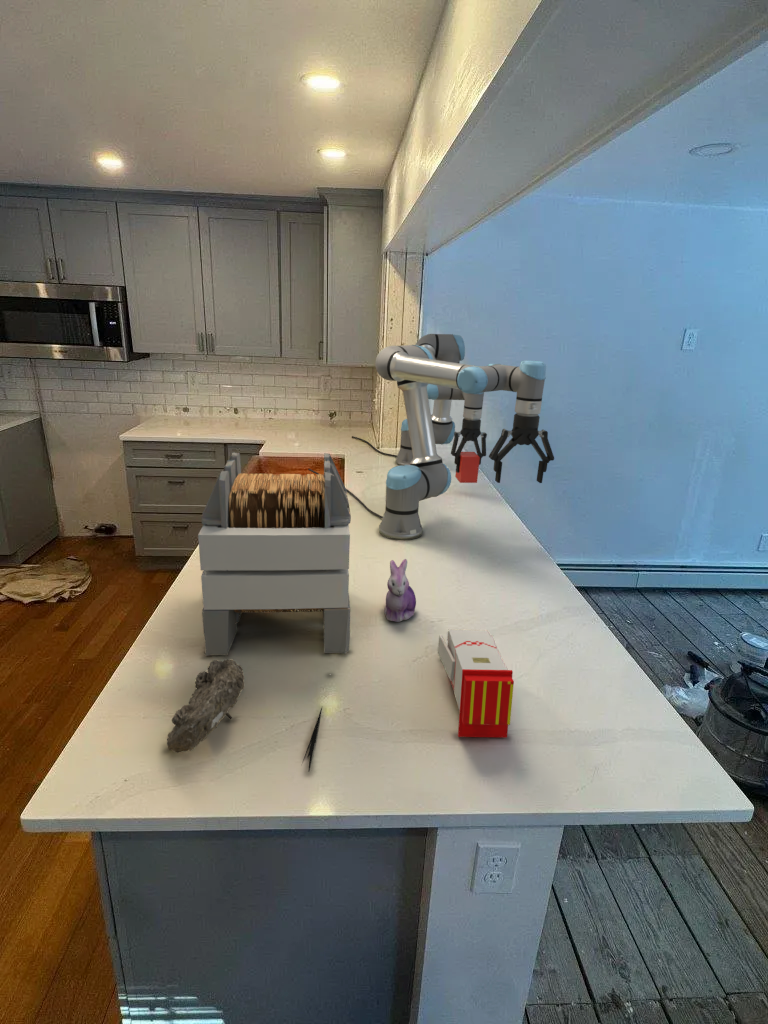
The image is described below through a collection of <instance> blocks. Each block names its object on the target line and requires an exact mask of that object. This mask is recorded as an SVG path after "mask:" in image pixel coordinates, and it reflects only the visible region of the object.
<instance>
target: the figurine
mask: <svg viewBox="0 0 768 1024" xmlns="http://www.w3.org/2000/svg"><path fill="white" fill-rule="evenodd" d="M407 567H408V559H406V558H404V559H403V560H402V561H401V563H400V565H399V566H398V565H397V563H396V562H395V561H394V560H393V559H391V560H390V561H389V570H390V576H389V578H388V579H387V589H388V591H387V592H386V594H385V595H386V596H385V607H384V615H385V616H386V620H387V621H391V622H395V623H400V622H402V621H406V620H409V619H410V618H411V617H413V616H414V615H415V610H416V606H417V597H416V593H415V591H414V590H413V587H411V586H410V582H409V579H408V577H407V574H406V571H407Z"/></svg>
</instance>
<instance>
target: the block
mask: <svg viewBox="0 0 768 1024" xmlns="http://www.w3.org/2000/svg"><path fill="white" fill-rule="evenodd" d="M459 457H460V468H459V473H457V472H456V471H455V475H454V477H455V478H456V480H457V481H458V482H459V483H460V484H477V483H478V478H479V469H480V465H479V460H480V457H479V456H478V455H477V452H476V451H461V453H460V455H459Z"/></svg>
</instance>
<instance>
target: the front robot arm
mask: <svg viewBox="0 0 768 1024" xmlns="http://www.w3.org/2000/svg"><path fill="white" fill-rule="evenodd" d="M375 369H376V373H378V375H379V376H380V377H381V378H382V379H383V380H386V381H390V382H391V381H392V382H396V385H397V388H398V389H399V390H401V391H402V396H403V403H404V408H405V414H406V419H407V421H408V427H409V434H410V440H411V446H412V452H413V460H412V461H411V463H410V465H404V466H403V465H396V466H393V467H391V468H390V469H389V470H388V472H387V474H386V479H385V504H384V505H385V507H384V508H385V509H384V513H383V515H380V514H379V513H376V512H375V511H373V510H371V509H370V508H368V507H367V505H365V503H364V502H363V501H361V499H360V498H358V497H357V496H356V495H355V494H354V493H353V492H352V491H350V490H349V489H347V488H346V490H347V494H349V495H351V496H352V497H353V498H354V499H355V500H356V501H357V502H359V503H360V504H361V506H363V508H364V509H365V510H367V511H368V512H369V513H370V514H372V515H373V516H376V517H377V518H379V519H381V522H379V525H378V533H379V534H380V535H381V536H382V537H385V538H387V539H389V540H395V541H410V540H415V539H418V538H420V537H421V536H422V535H423V525H422V524H421V518H420V515H419V507H420V506H419V505H420V502H421V501H423V500H427V499H430V498H436V497H439V496H440V495H443V494H445V493H446V492H447V491H448V490H449V488H450V486H451V483H452V473H451V470H450V468H449V467H448V466H447V464H445V463H443V457H441V456H440V455H439V454H438V452H437V446H436V445H437V444H435V438H434V432H433V425H432V419H431V415H432V414H431V406H430V401H429V400H430V399H428V393H427V385H428V384H433V385H438V386H444V387H449V388H455V389H460V390H462V391H463V392H464V393H468V394H477V393H482V392H484V393H489V392H497V391H499V392H500V391H503V392H504V391H506V392H513V393H516V398H515V406H514V412H515V414H514V415H513V422H512V428H511V430H509V429H506V428H503V429H502V430H501V432H500V433H501V434H500V436H499V438H498V440H496V441H497V442H496V443H495V445H494V447H493V448H492V450H491V451H490V453H489V455H488V458H490V460H491V461H493V471H494V472H495V477H494V481H495V482H496V483H497V484H500V483H501V478H502V470H503V461H502V460H503V459H504V458H505V456H507V454H508V453H509V452H511V450H513V448H514V447H516V446H517V445H518V446H523V445H525V446H530V445H531V446H532V447H533V449H534V451H535V452H536V453H537V455H538V456H539V458H540V459H541V460H539V461H538V467H537V473H536V479H535V480H536V482H537V483H539V484H543V480H544V479H543V478H544V473H547V469H548V464H549V463H550V462H551V461H552V462H553V461H554V460H555V456H554V453H553V450H552V447H551V444H550V440H549V432H548V431H547V430H546V429H541V430H539V426H540V418H541V417H540V415H541V412H542V411H541V409H542V403H543V395H544V394H543V393H544V387H545V380H546V377H547V376H546V371H547V364H546V363H545V362H544V361H539V360H522V361H521V362H520V364H519V366H517V365H516V366H515V365H507V364H501V363H489V364H487V365H473V364H466V363H453V362H446V361H440V360H433V357H432V355H431V353H430V352H429V351H428V350H427V349H426V348H425V347H422V346H416V345H415V344H410V345H409V344H408V345H389V346H386V347H384V348H383V349H381V350H380V351H379V352H378V353H377V356H376V358H375ZM510 436H511V437H512V438H511V439H510V440H509V441H508V443H506V441H507V439H508V438H509V437H510ZM538 437H540V439H541V442H542V446H543V449H544V451H545V453H544V451H543V449H542V448H541V447H540V445H539V443H538V442H537V440H536V439H537V438H538ZM505 443H506V444H505ZM504 445H505V446H504ZM307 470H308V471H309V472H310V473H311V472H312V474H315V475H316V474H317V475H318V474H319V475H320V474H321V473H319V472H317V471H315V470H313V469H311V468H308V469H307Z"/></svg>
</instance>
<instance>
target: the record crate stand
mask: <svg viewBox="0 0 768 1024" xmlns="http://www.w3.org/2000/svg"><path fill="white" fill-rule="evenodd" d="M241 463H242V462H241V453H240V452H235V451H233V452H231V455H230V457H229V459H227V460H226V463H225V466H224V468H223V470H222V471H220V474H219V475H218V477H217V479H216V482H215V483H214V486H213V489H212V491H211V494H210V495H209V498H208V499H207V502H206V505H205V507H204V509H203V511H202V514H201V517H200V520H201V524H202V527H201V529H200V530H199V532H198V535H197V538H198V550H199V552H198V553H199V563H200V565H199V567H200V571H202V573H201V575H200V580H201V581H200V582H201V594H202V605H203V607H202V609H201V610H202V611H201V617H202V629H203V638H204V639H203V640H204V649H205V650H204V651H205V652H204V655H205V656H206V657H212V656H228V654H229V652H230V650H231V647H232V645H233V643H234V640H235V638H236V635H237V632H238V623H240V620H241V617H242V614H244V613H250V614H251V613H253V614H254V613H257V614H258V613H298V612H301V613H302V612H308V613H309V612H322V614H323V654H344V655H346V654H347V653H349V652H350V639H351V604H350V595H349V594H350V593H349V586H350V585H349V584H350V572H349V571H350V570H349V569H350V549H351V548H350V547H351V545H350V542H351V533H350V532H351V531H350V526H349V525H350V524H351V520H352V516H351V515H352V514H351V509H350V502H349V496H348V492H347V490H348V489H347V487H346V486H345V484H344V482H343V480H342V478H341V474H340V473H339V471H338V469H337V466H336V465H335V462H334V460H333V458H332V455H331V454H330V453H326V452H324V453H323V473H322V474H321V473H319V474H320V475H319V474H318V475H317V474H315V473H306V474H303V475H302V474H301V473H280V474H273V473H244V472H243V473H242V466H241ZM346 489H347V490H346Z"/></svg>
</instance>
